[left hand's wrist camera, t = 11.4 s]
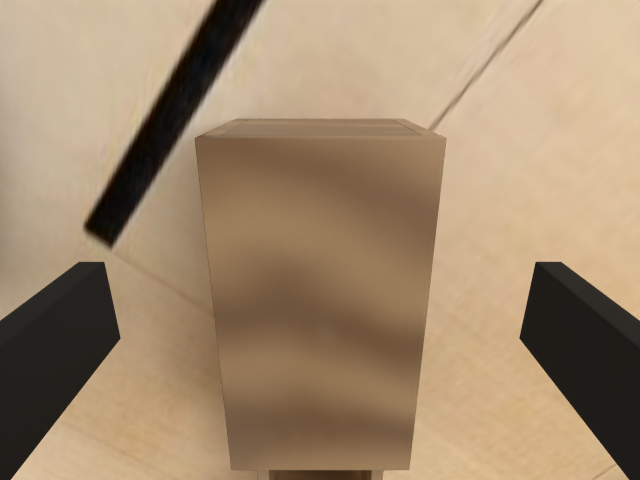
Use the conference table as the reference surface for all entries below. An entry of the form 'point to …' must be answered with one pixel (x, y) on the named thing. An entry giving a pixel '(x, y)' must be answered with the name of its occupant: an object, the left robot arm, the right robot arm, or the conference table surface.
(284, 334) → the cabinet
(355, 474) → the drawer
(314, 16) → the conference table surface
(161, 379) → the conference table surface
